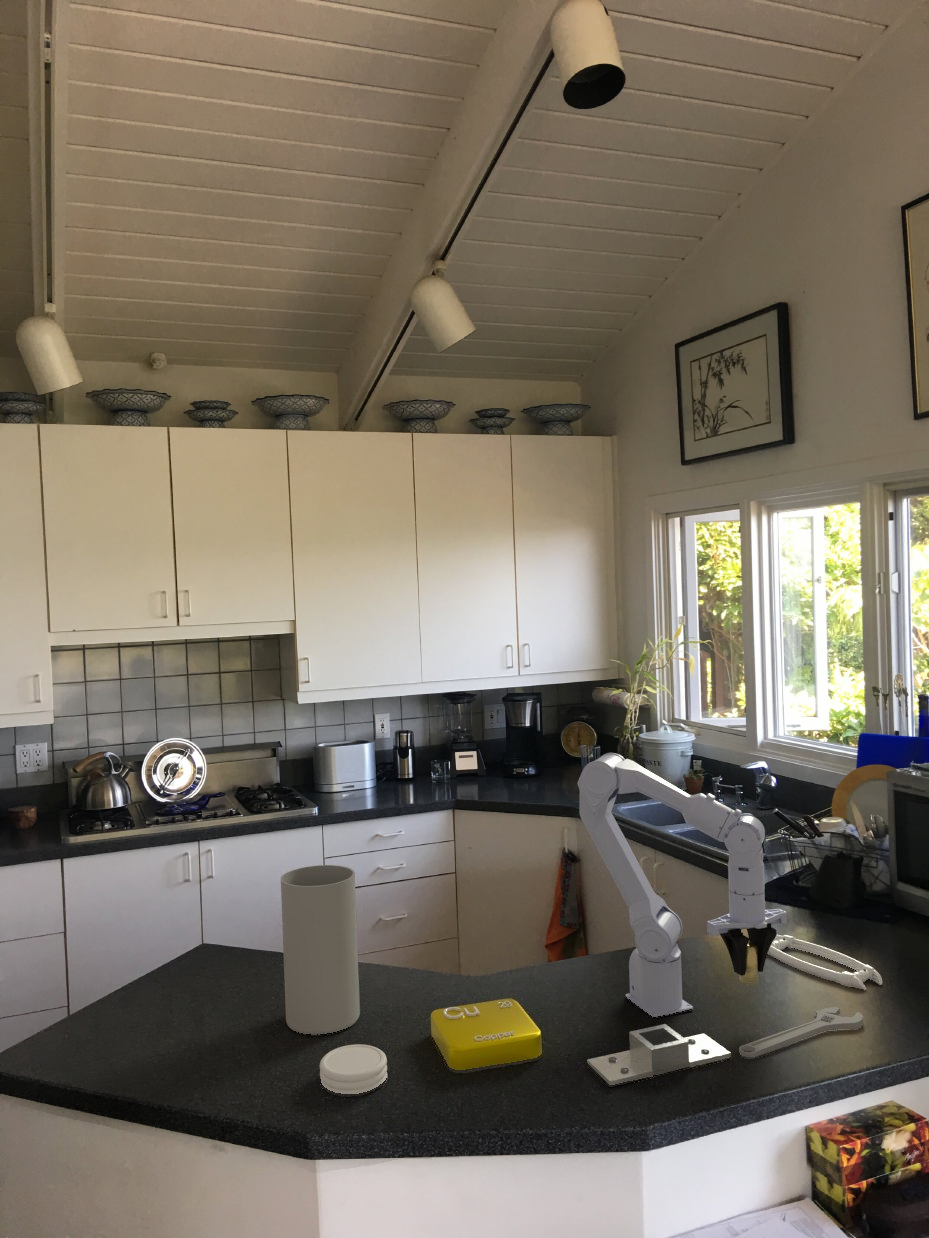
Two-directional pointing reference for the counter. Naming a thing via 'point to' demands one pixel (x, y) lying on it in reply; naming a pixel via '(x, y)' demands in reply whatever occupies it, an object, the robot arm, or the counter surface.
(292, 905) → the cylinder vase
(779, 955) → the white tongs
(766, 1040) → the adjustable wrench
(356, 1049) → the white end cap
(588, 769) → the robot arm
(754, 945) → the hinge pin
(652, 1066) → the mounting bracket
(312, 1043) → the counter surface
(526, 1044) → the element tile
